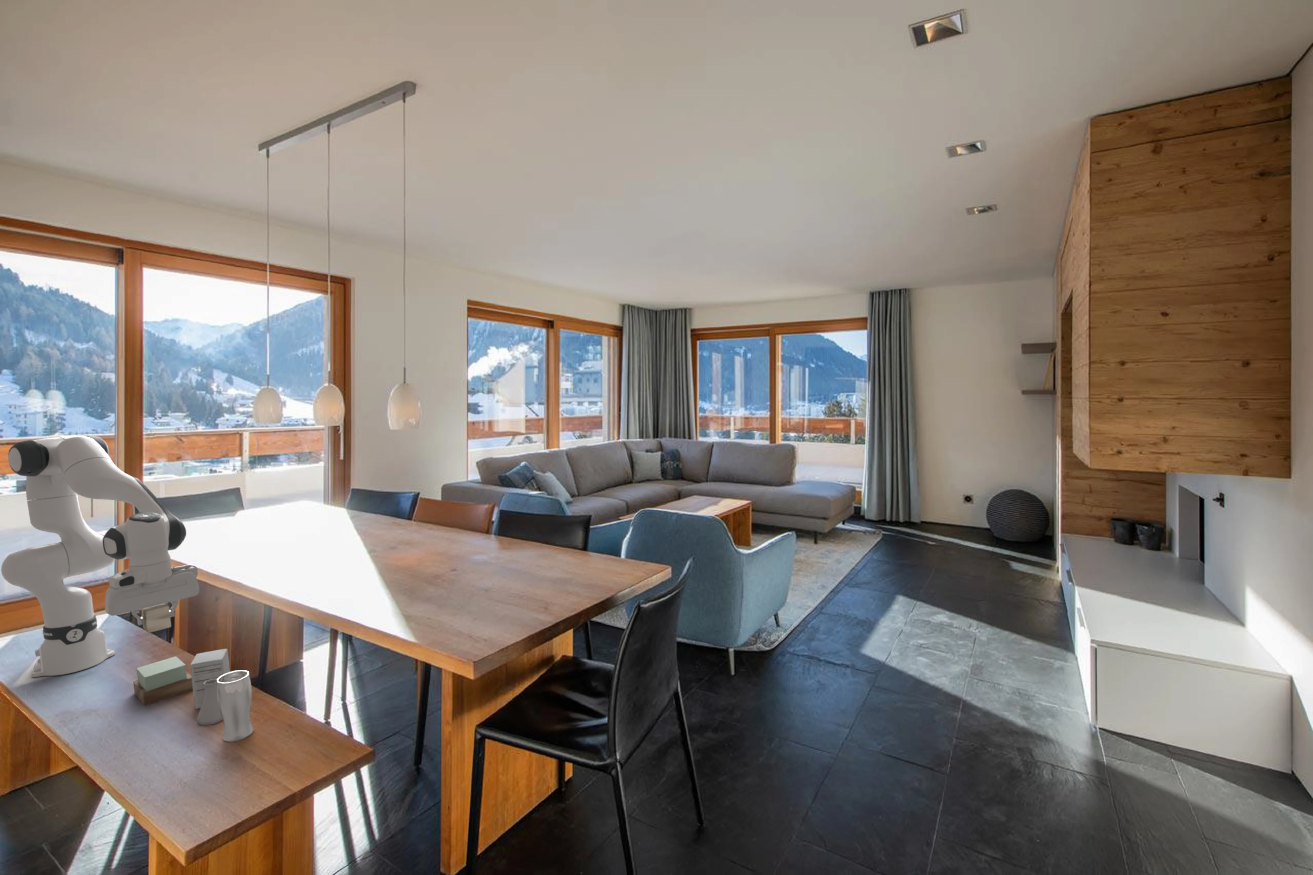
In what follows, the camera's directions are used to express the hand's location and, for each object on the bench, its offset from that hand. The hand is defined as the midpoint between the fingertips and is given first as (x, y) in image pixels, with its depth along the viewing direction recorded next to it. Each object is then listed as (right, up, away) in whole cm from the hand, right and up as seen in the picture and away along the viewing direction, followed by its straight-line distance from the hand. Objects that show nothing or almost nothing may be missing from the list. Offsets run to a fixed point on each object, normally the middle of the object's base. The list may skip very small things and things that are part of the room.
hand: (156, 620), depth 170 cm
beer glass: (+36, -22, -20) cm, 47 cm away
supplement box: (+18, -21, -3) cm, 28 cm away
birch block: (0, -2, 0) cm, 2 cm away
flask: (+25, -22, -12) cm, 35 cm away
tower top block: (0, -17, +2) cm, 17 cm away
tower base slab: (0, -21, +3) cm, 21 cm away
